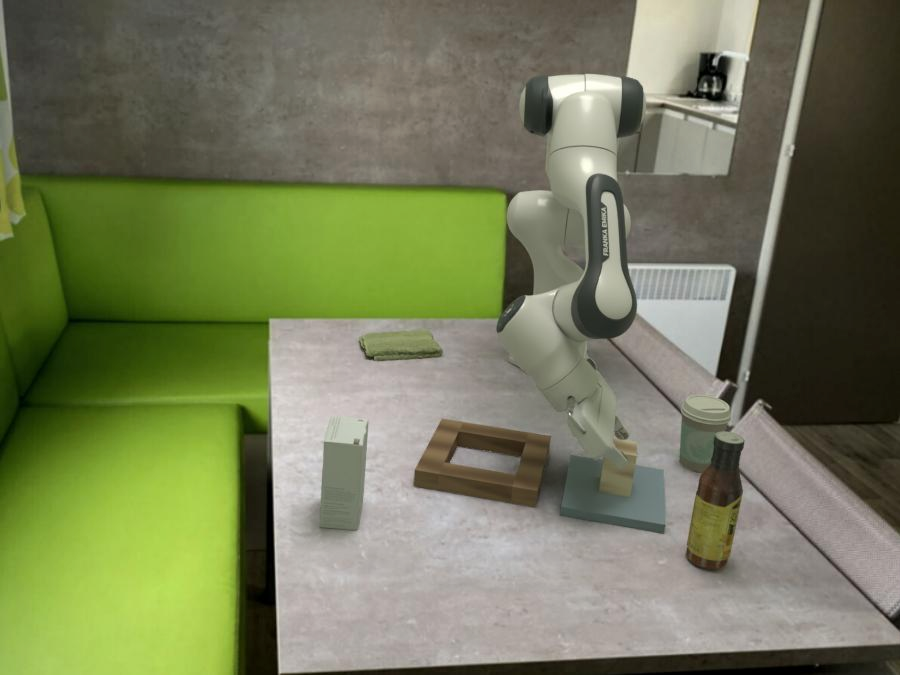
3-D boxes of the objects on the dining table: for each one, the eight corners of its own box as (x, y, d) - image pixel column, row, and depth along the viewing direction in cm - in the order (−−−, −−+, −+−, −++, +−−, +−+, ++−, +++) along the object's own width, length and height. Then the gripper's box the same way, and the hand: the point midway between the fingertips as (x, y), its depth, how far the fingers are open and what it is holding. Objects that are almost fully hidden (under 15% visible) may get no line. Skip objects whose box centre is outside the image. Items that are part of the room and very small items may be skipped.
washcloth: (356, 342, 201) (356, 328, 200) (430, 339, 206) (430, 326, 205) (367, 363, 190) (367, 350, 188) (444, 360, 195) (445, 347, 193)
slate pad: (569, 462, 153) (570, 454, 152) (662, 477, 150) (663, 469, 150) (560, 514, 136) (561, 506, 136) (663, 533, 134) (665, 524, 133)
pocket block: (440, 433, 160) (441, 418, 159) (549, 450, 156) (550, 435, 155) (413, 486, 141) (414, 469, 140) (535, 507, 138) (537, 490, 137)
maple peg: (600, 477, 146) (606, 437, 143) (630, 482, 145) (637, 442, 142) (598, 492, 141) (605, 450, 138) (630, 497, 140) (636, 456, 137)
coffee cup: (668, 469, 153) (680, 407, 149) (674, 449, 161) (685, 389, 156) (718, 480, 151) (731, 418, 146) (722, 459, 158) (734, 399, 154)
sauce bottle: (729, 575, 124) (757, 452, 118) (685, 567, 125) (709, 445, 119) (725, 550, 131) (751, 431, 124) (683, 543, 132) (706, 424, 125)
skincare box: (326, 499, 136) (329, 413, 130) (365, 502, 136) (369, 416, 131) (318, 529, 128) (320, 439, 123) (359, 532, 128) (363, 442, 123)
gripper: (582, 401, 128) (640, 471, 130) (591, 353, 147) (641, 414, 148) (549, 424, 130) (606, 492, 132) (561, 373, 149) (611, 433, 151)
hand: (624, 450), depth 140 cm, fingers open, 8 cm apart
